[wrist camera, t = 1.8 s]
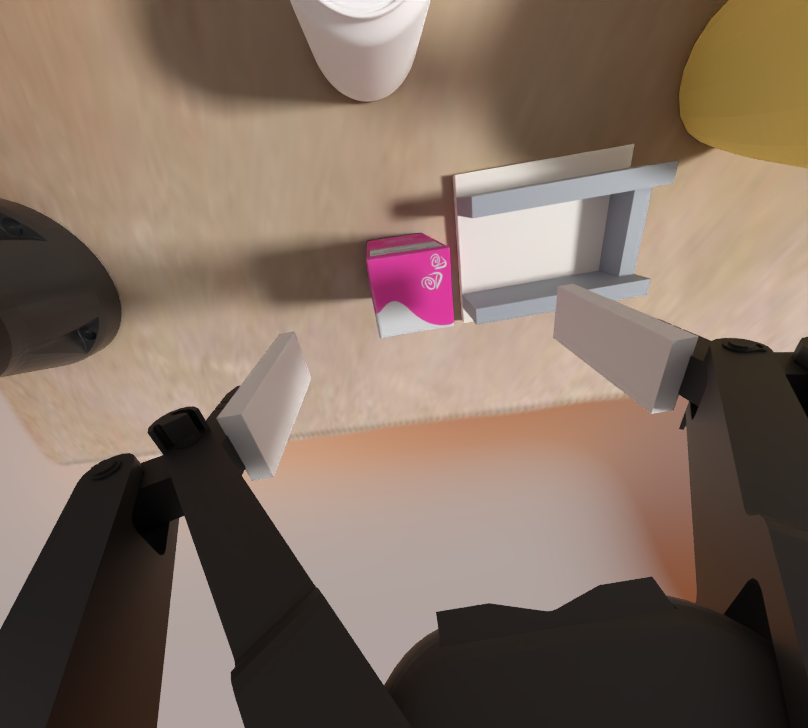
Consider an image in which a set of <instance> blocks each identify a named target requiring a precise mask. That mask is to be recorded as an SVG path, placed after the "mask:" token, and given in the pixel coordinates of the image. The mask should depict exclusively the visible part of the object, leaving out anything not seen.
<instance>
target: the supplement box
mask: <svg viewBox="0 0 808 728" xmlns="http://www.w3.org/2000/svg"><path fill="white" fill-rule="evenodd" d="M366 266H367V273H368V278H369V284H370V290H371V295H372V300H373V305H374V310H375V315H376V321H377V326H378V331H379V336H380V338H386V337H391V336H397V335H403V334H408V333H414V332H420V331H425V330H432V329H438V328H445V327H451V326H454V313H453V295H452V280H451V263H450V248H449V247H447V246H446V245H444V244H442V243H440V242H438V241H436V240H434V239H432V238H430V237H429V236H427V235H425V234H423V233H418V234H411V235H404V236H397V237H390V238H383V239H377V240H371V241H368V242H367V253H366Z"/></svg>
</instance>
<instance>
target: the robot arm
mask: <svg viewBox="0 0 808 728" xmlns="http://www.w3.org/2000/svg"><path fill="white" fill-rule="evenodd" d="M120 322H121V306H120V301H119V297H118V294H117V291H116V288H115V286H114V284H113V282H112V279H111V278H110V276H109V274H108V273H107V271H106V269H105V268H104V266H103V265H102V264H101V262H100V261H99V260H98V259H97V257H96V256H95V255H94V254H93V253H92V252H91V251H90V249H89V248H88V247H87V246H86V245H85V244H84V243H82V242H81V241H80V240H79V239H78V238H77V237H76V236H74V235H73V234H72V233H71V232H69V231H68V230H67V229H65V228H64V227H63V226H61V225H60V224H58V223H57V222H55V221H54V220H52V219H50V218H49V217H47V216H45V215H43V214H41V213H39V212H37V211H35V210H33V209H31V208H28V207H26V206H24V205H21V204H18V203H15V202H12V201H9V200H5V199H0V377H4V376H10V375H15V374H21V373H26V372H32V371H37V370H43V369H48V368H54V367H59V366H64V365H69V364H72V363H75V362H78V361H81V360H83V359H85V358H87V357H89V356H91V355H92V354H94V353H96V352H98V351H100V350H101V349H103V348H105V347H106V346H107V345H108V344H109V343H110V342H111V341H112V340H113V339H114V337H115V336H116V334H117V332H118V329H119V326H120ZM553 338H555V339H556V340H557V341H558V342H560V343H561V344H562V345H564V346H565V347H566V348H567V349H569V350H570V351H571V352H573V353H574V354H575V355H576V356H578V357H579V358H580V359H582V360H583V361H584V362H586V363H587V364H588V365H589V366H591V367H592V368H593V369H595V370H596V371H597V372H598V373H600V374H601V375H602V376H604V377H605V378H606V379H607V380H609V381H610V382H611V383H613V384H614V385H615V386H616V387H618V388H619V389H620V390H622V391H623V392H624V393H625V394H627V395H628V396H629V397H631V398H632V399H633V400H635V401H636V402H637V403H638V404H640V405H641V406H642V407H644V408H645V409H646V410H647V411H649V412H650V413H651V414H653V413H658V412H664V411H671V410H674V408H675V405H676V402H677V399H678V395H681V396H682V397H684V398H686V399H687V400H689V403H688V406H687V408H686V411H685V414H684V417H683V419H682V423H681V425H680V428H679V429H684V428H685V426H687V441H688V456H689V472H690V487H691V504H692V519H693V535H694V552H695V567H696V581H697V582H696V583H697V598H696V603H692V602H690V601H687V600H683V599H679V598H675V597H671V596H666V595H665V594H664V592H663V591H662V590H661V588H660V587H659V585H658V584H657V583H656V581H655V580H654V579H653V577H647V578H641V579H635V580H629V581H623V582H616V583H611V584H604V585H599V586H597V587H595V588H593V589H592V590H590V591H588V592H586V593H585V594H583V595H581V596H579V597H577V598H576V599H574V600H572V601H571V602H569V603H567V604H565V605H563V606H561V607H560V608H558V609H556V610H553V611H540V610H532V609H525V608H518V607H511V606H503V605H496V604H482V605H476V606H470V607H464V608H458V609H452V610H446V611H440V612H436V615H437V621H438V629H437V630H436V631H434V632H432V633H430V634H429V635H427V636H426V637H424V638H423V639H422V640H420V641H419V642H418V643H416V644H415V645H414V646H413V647H412V648H411V649H410V650H409V651H408V652H407V653H406V654H405V655H404V657H403V658H402V659H401V661H400V662H399V663H398V664H397V666H396V667H395V668H394V670H393V672H392V673H391V675H390V677H389V679H388V680H387V682H386V683H385V685H383V684H382V682H381V681H380V679H379V678H378V676H377V675H376V673H375V672H374V670H373V669H372V667H371V666H370V664H369V663H368V661H367V660H366V658H365V657H364V655H363V654H362V652H361V651H360V649H359V648H358V646H357V645H356V643H355V642H354V640H353V639H352V637H351V636H350V635H349V633H348V631H347V630H346V628H345V627H344V625H343V624H342V622H341V621H340V620H339V618H338V617H337V615H336V614H335V612H334V611H333V609H332V608H331V606H330V605H329V604H328V602H327V600H326V599H325V597H324V596H323V594H322V593H321V592H320V590H319V589H318V588H316V586H315V585H314V584H313V582H312V581H311V579H310V578H309V576H308V575H307V573H306V572H305V570H304V569H303V567H302V566H301V564H300V563H299V561H298V560H297V558H296V557H295V555H294V554H293V552H292V551H291V549H290V548H289V546H288V545H287V543H286V542H285V540H284V539H283V537H282V536H281V534H280V533H279V531H278V530H277V528H276V527H275V525H274V524H273V522H272V521H271V519H270V518H269V516H268V515H267V513H266V512H265V510H264V509H263V507H262V506H261V504H260V503H259V501H258V500H257V498H256V497H255V495H254V494H253V492H252V491H251V489H250V488H249V486H248V485H247V483H246V482H245V480H244V479H243V477H242V474H243V472H244V470H246V471H247V473H248V475H249V477H250V478H251V480H252V481H254V480H260V479H266V478H272V477H274V475H275V472H276V470H277V467H278V464H279V462H280V459H281V457H282V454H283V452H284V449H285V446H286V444H287V441H288V438H289V436H290V433H291V431H292V428H293V425H294V423H295V420H296V417H297V415H298V412H299V410H300V407H301V404H302V402H303V399H304V396H305V394H306V391H307V389H308V386H309V383H310V381H311V376H310V374H309V371H308V368H307V365H306V362H305V359H304V356H303V354H302V351H301V348H300V345H299V342H298V339H297V336H296V334H295V332H289V333H283V334H279V335H278V337H277V338H276V339H275V341H274V342H273V343H272V345H271V346H270V347H269V349H268V350H267V351H266V353H265V354H264V355H263V357H262V358H261V359H260V361H259V362H258V363H257V365H256V366H255V367H254V369H253V370H252V371H251V373H250V374H249V375H248V377H247V378H246V379H245V381H244V382H243V383H242V385H241V386H237V387H236V388H234V389H233V390H231V391H230V392H229V393H227V394H226V396H225V397H224V398H223V399H222V401H221V402H220V404H218V406H217V407H216V408H215V410H214V411H213V412H212V413H211V415H210V416H209V417H208V418H207V420H206V421H205V419H204V417H203V415H202V414H201V412H200V410H199V409H198V408H196V407H184V408H180V409H177V410H175V411H172V412H170V413H168V414H166V415H164V416H162V417H161V418H159V419H158V420H156V421H155V422H154V423H153V424H152V425H151V426H150V427H149V428H148V434H149V435H150V437H151V438H152V440H153V441H154V442H155V444H156V445H157V446H158V448H159V449H160V451H161V452H162V453H163V455H162V456H160V457H157V458H154V459H151V460H149V461H146V462H143V463H140V462H139V461H138V460H137V458H136V457H135V456H134V455H133V454H130V453H127V454H120V455H117V456H114V457H111V458H109V459H107V460H103V461H101V462H100V463H98V464H96V465H95V466H93V467H92V468H91V469H90V470H89V471H88V472H87V473H85V474H84V475H83V476H82V477H81V479H80V480H79V482H78V483H77V485H76V486H75V488H74V490H73V492H72V494H71V496H70V498H69V500H68V502H67V504H66V506H65V507H64V509H63V511H62V513H61V515H60V517H59V519H58V521H57V523H56V525H55V526H54V528H53V530H52V532H51V534H50V536H49V538H48V540H47V542H46V544H45V546H44V547H43V549H42V551H41V553H40V555H39V557H38V559H37V561H36V563H35V564H34V566H33V568H32V570H31V572H30V574H29V576H28V578H27V580H26V582H25V584H24V585H23V587H22V589H21V591H20V593H19V595H18V597H17V599H16V601H15V603H14V604H13V606H12V608H11V610H10V612H9V614H8V616H7V618H6V620H5V621H4V623H3V625H2V627H1V629H0V728H157V721H158V711H159V702H160V692H161V683H162V673H163V664H164V655H165V645H166V635H167V627H168V617H169V608H170V597H171V589H172V579H173V570H174V561H175V551H176V542H177V533H178V524H179V518H180V517H182V516H185V518H186V521H187V524H188V527H189V530H190V533H191V536H192V539H193V542H194V544H195V547H196V550H197V553H198V556H199V559H200V562H201V565H202V567H203V570H204V573H205V576H206V579H207V581H208V585H209V588H210V590H211V593H212V596H213V599H214V602H215V604H216V608H217V611H218V613H219V616H220V619H221V622H222V625H223V628H224V631H225V633H226V636H227V639H228V642H229V645H230V648H231V651H232V654H233V657H234V660H235V668H234V669H233V670H232V671H231V683H232V687H233V691H234V695H235V698H236V701H237V704H238V707H239V711H240V714H241V717H242V720H243V723H244V726H245V728H808V337H805V338H802V339H801V340H800V342H799V343H798V345H797V347H796V349H795V351H794V352H773V351H772V350H771V349H770V348H769V347H768V346H765V345H764V344H761V343H758V342H754V341H750V340H745V339H737V338H722V339H716V340H713V341H710V340H708V339H705V338H703V337H701V336H698V335H696V334H693V333H691V332H689V331H686V330H682V329H681V328H679V327H677V326H674V325H671V324H669V323H667V322H665V321H662V320H660V319H656V318H654V317H651V316H649V315H647V314H644V313H642V312H639V311H637V310H635V309H632V308H630V307H627V306H625V305H623V304H620V303H618V302H616V301H613V300H611V299H608V298H606V297H604V296H601V295H599V294H597V293H594V292H592V291H589V290H587V289H585V288H582V287H580V286H578V285H575V284H569V285H563V286H558V290H557V301H556V312H555V323H554V334H553Z"/></svg>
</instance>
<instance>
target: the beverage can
mask: <svg viewBox="0 0 808 728" xmlns="http://www.w3.org/2000/svg"><path fill="white" fill-rule="evenodd" d="M430 1H431V0H290V2H291V4H292V7H293V9H294V11H295V14H296V16H297V18H298V21H299V23H300V25H301V28H302V30H303V32H304V35H305V37H306V39H307V42H308V44H309V46H310V49H311V51H312V53H313V56H314V58H315V60H316V62H317V64H318V66H319V68H320V70H321V71H322V73H323V75H324V76H325V77H326V79H327V80H328V81H329V82H330V83H331V84H332V85H333V86H334V87H335V88H336V89H337V90H338V91H339V92H341V93H342V94H344V95H346V96H347V97H350V98H352V99H355V100H358V101H366V102H369V101H376V100H380V99H383V98H385V97H387V96H389V95H390V94H392V93H393V92H394V91H395V90H396V89H397V88H398V87H399V86H400V85H401V84H402V83H403V81H404V80H405V79H406V77H407V75H408V73H409V71H410V69H411V67H412V64H413V62H414V59H415V55H416V52H417V48H418V44H419V41H420V37H421V33H422V30H423V26H424V23H425V19H426V15H427V12H428V8H429V4H430Z"/></svg>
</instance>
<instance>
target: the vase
mask: <svg viewBox="0 0 808 728" xmlns="http://www.w3.org/2000/svg"><path fill="white" fill-rule="evenodd" d="M679 106H680V117H681V119H682V121H683V124H684V126H685V128H686V130H687V132H688V133H689V134H690V135H692V136H693V137H694V138H695V139H696V140H698V141H699V142H702V143H704V144H707V145H709V146H712V147H715V148H717V149H721V150H724V151H727V152H730V153H734V154H737V155H741V156H745V157H749V158H754V159H758V160H764V161H769V162H775V163H780V164H785V165H791V166H797V167H803V168H808V0H728V1H727V2H726V3H725V5H724V6H723V7H722V8H721V9H720V10H719V11H718V12H717V13H716V14H715V15H714V16H713V17H712V18H711V20H710V21H709V23H708V24H707V26H706V27H705V29H704V30H703V32H702V33H701V35H700V36H699V38H698V40H697V41H696V43H695V44H694V46H693V49H692V51H691V54H690V56H689V58H688V61H687V63H686V66H685V68H684V71H683V76H682V81H681V86H680V92H679Z"/></svg>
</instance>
